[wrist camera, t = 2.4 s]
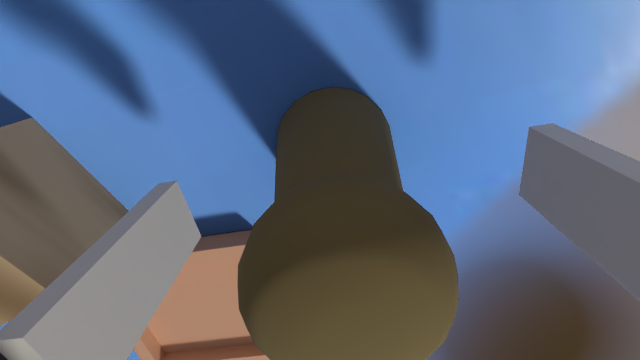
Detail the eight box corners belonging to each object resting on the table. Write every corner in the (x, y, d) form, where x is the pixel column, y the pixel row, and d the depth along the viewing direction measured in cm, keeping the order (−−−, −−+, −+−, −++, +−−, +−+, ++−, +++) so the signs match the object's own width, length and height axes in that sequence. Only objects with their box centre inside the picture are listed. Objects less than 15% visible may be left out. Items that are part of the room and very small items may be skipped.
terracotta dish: (161, 356, 24) (152, 374, 23) (90, 252, 19) (74, 268, 18) (294, 343, 23) (292, 361, 22) (255, 229, 18) (250, 244, 17)
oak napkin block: (79, 248, 19) (-15, 333, 14) (-25, 161, 16) (-193, 226, 11) (135, 216, 18) (56, 296, 13) (33, 116, 15) (-123, 165, 10)
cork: (268, 91, 14) (150, 227, 5) (393, 82, 14) (551, 205, 4) (283, 198, 17) (230, 426, 7) (389, 192, 17) (479, 420, 7)
